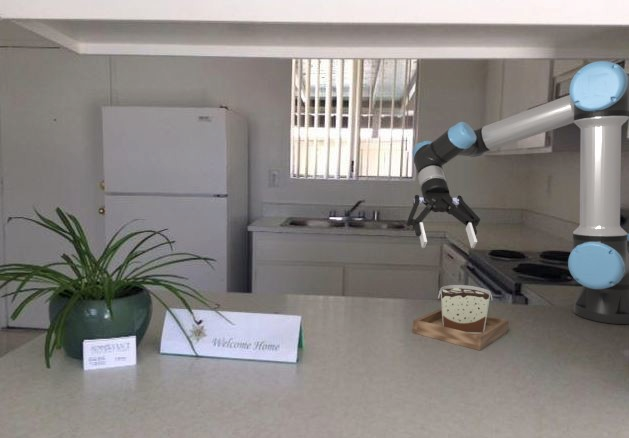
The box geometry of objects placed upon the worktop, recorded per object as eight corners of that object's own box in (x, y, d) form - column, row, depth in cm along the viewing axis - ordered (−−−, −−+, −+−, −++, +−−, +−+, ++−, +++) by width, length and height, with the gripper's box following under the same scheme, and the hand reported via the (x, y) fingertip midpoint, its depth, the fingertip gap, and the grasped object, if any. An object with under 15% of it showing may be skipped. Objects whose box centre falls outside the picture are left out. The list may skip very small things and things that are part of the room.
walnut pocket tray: (507, 332, 120) (508, 320, 120) (480, 350, 108) (480, 337, 107) (444, 317, 131) (445, 306, 130) (412, 332, 118) (413, 320, 118)
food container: (482, 325, 122) (485, 285, 121) (490, 334, 116) (493, 291, 115) (431, 323, 122) (433, 283, 121) (436, 332, 116) (438, 290, 115)
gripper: (470, 194, 150) (489, 252, 137) (389, 193, 147) (400, 252, 134) (479, 177, 144) (499, 236, 131) (394, 175, 142) (406, 236, 128)
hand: (449, 245), depth 133 cm, fingers open, 13 cm apart
